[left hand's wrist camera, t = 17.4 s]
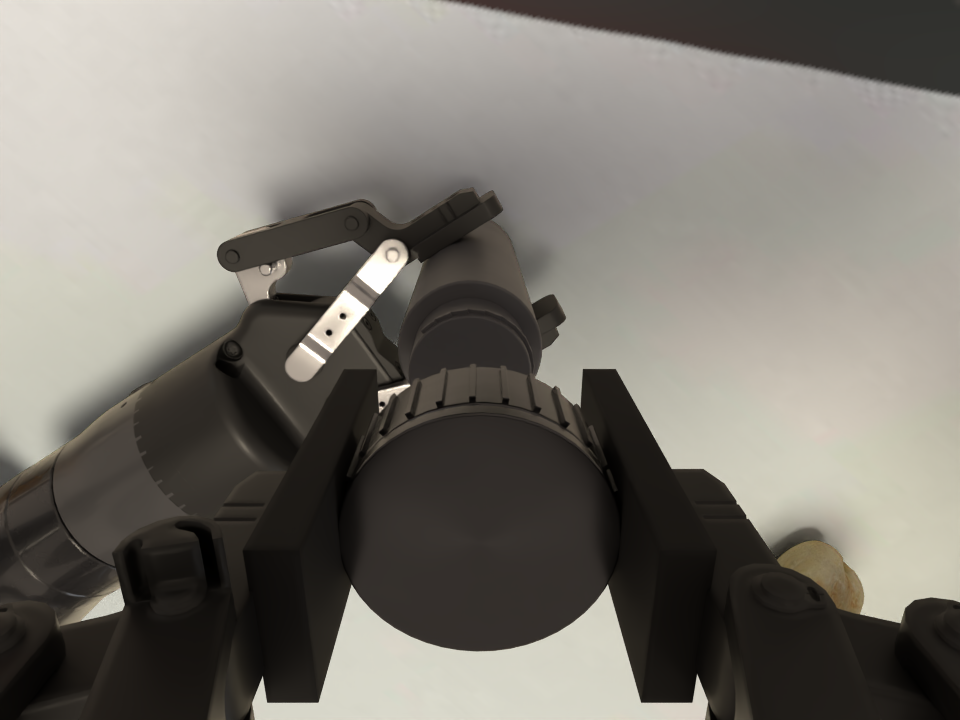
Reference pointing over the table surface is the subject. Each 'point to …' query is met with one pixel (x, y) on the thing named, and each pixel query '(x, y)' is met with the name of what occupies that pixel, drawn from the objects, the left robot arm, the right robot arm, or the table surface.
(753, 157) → the table surface
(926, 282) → the table surface
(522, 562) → the lid
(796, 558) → the sculpture
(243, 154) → the table surface
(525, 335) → the gray cylindrical bottle
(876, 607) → the table surface
